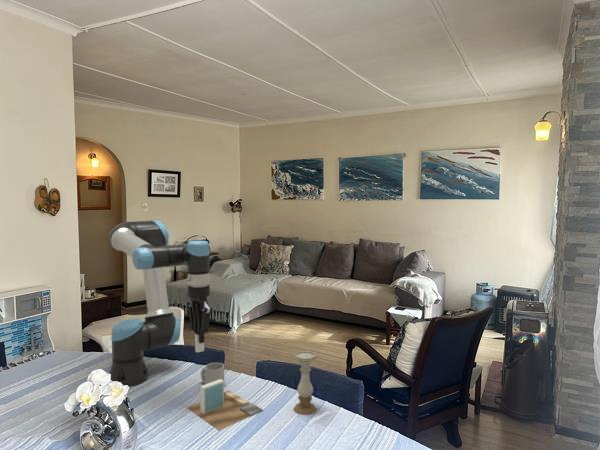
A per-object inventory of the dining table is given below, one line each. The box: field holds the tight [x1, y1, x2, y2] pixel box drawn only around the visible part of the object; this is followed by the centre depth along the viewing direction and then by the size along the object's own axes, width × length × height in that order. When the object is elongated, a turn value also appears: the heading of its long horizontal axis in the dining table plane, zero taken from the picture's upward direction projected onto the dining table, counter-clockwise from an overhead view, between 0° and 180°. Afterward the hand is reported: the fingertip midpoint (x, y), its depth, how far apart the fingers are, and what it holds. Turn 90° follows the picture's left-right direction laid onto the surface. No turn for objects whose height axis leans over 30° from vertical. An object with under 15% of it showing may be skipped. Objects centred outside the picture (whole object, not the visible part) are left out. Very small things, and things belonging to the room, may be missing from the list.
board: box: [186, 397, 265, 431], centre depth 146 cm, size 20×18×1 cm
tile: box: [199, 379, 225, 414], centre depth 146 cm, size 2×8×9 cm, turn 134°
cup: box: [200, 362, 225, 385], centre depth 164 cm, size 7×10×9 cm
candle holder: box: [293, 350, 318, 416], centre depth 146 cm, size 9×9×20 cm
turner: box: [224, 389, 264, 417], centre depth 150 cm, size 18×5×2 cm, turn 44°
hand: (199, 351), depth 151 cm, fingers closed
